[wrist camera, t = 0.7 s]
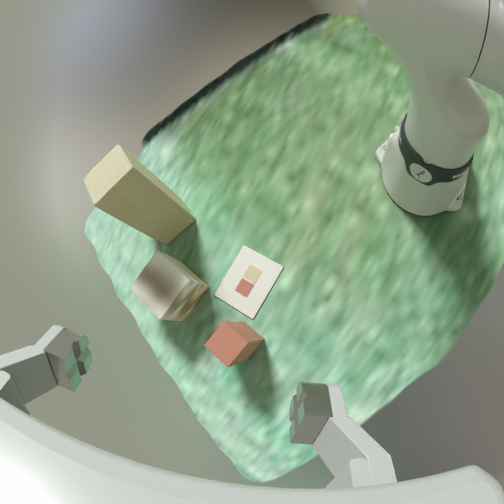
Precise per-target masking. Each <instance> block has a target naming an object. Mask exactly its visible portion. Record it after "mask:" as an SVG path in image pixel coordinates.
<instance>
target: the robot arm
mask: <svg viewBox="0 0 504 504" xmlns="http://www.w3.org/2000/svg"><path fill="white" fill-rule="evenodd" d="M356 4H357V9H358V12H359V14H360V17H361V19H362V21H363V22H364V24H365V25H366V27H367V28H368V30H369V31H370V32H371V33H372V34H373V35H375V36H376V37H377V38H378V39H380V40H381V41H382V42H383V43H384V44H385V45H386V46H387V47H388V48H389V49H390V50H391V51H392V52H393V54H394V55H395V56H396V58H397V59H398V60H399V62H400V64H401V65H402V67H403V69H404V71H405V73H406V75H407V77H408V80H409V84H410V90H411V92H410V102H409V109H408V113H407V114H406V115H405V116H404V117H403V119H402V120H401V123H400V124H401V126H400V127H399V126H396V127H395V129H394V132H395V133H394V134H391V135H390V136H389V139H388V140H387V141H386V142H385V143H384V144H383V145H381V146H380V147H379V148H378V149H377V151H376V153H375V156H376V159H377V161H378V162H379V164H380V166H381V169H382V178H383V183H384V186H385V188H386V190H387V192H388V194H389V195H390V197H391V198H392V199H393V200H394V201H395V203H397V204H398V205H399V206H400V207H401V208H403V209H404V210H406V211H408V212H410V213H413V214H416V215H422V216H430V215H435V214H437V213H440V212H442V211H458V210H459V209H460V208H461V206H462V202H463V197H464V192H465V187H466V182H467V177H468V171H469V166H470V164H471V162H472V160H473V156H474V152H475V151H476V149H477V148H478V146H479V145H480V143H481V142H482V140H483V139H484V137H485V135H486V134H487V132H488V128H489V112H488V108H487V106H486V103H485V101H484V99H483V97H482V95H481V93H480V91H479V90H478V89H477V87H476V86H475V85H474V84H473V83H472V81H471V80H470V79H469V78H471V79H472V80H474V81H476V82H478V83H480V84H482V85H484V86H486V87H487V88H489V89H491V90H493V91H494V92H496V93H498V94H500V95H501V96H503V97H504V0H356ZM384 150H385V151H384ZM457 198H458V200H457ZM88 344H89V342H88V338H87V336H85V335H83V334H80V333H78V332H75V331H72V330H70V329H67V328H64V327H62V326H59V325H54V326H52V327H51V328H50V330H48V331H47V332H46V334H45V335H44V336H43V337H42V338H41V339H40V340H39V341H38V342H37V343H36V344H35V345H34V346H28V347H25V348H22V349H19V350H16V351H13V352H10V353H7V354H4V355H1V356H0V504H504V492H503V489H502V487H501V485H500V483H499V482H498V481H497V480H496V479H495V478H494V477H492V476H491V475H490V474H488V473H487V472H486V471H484V470H483V469H481V468H479V467H478V466H476V465H470V466H466V467H462V468H459V469H455V470H452V471H448V472H444V473H440V474H436V475H432V476H427V477H422V478H417V479H412V480H407V481H401V482H397V480H396V476H395V472H394V468H393V464H392V460H391V456H390V455H389V454H388V453H387V452H386V451H385V450H384V449H383V448H382V447H381V446H380V445H379V444H378V443H377V442H376V441H375V440H374V439H372V438H371V436H369V435H368V434H367V433H366V432H365V431H364V430H363V429H362V428H361V427H360V426H359V425H358V424H357V423H356V422H355V421H354V420H353V419H352V418H348V417H347V412H346V408H345V403H344V398H343V394H342V390H341V386H340V385H336V384H321V383H309V382H300V383H299V384H298V386H297V388H296V389H297V394H296V395H295V396H293V399H292V401H291V405H290V413H289V419H290V420H291V422H292V425H291V427H290V443H299V444H313V445H312V446H313V447H314V449H315V450H316V452H317V453H318V454H319V456H320V457H321V459H322V460H323V461H324V463H325V464H326V466H327V467H328V468H329V470H330V471H331V472H332V474H333V475H334V476H335V478H334V479H333V480H332V482H330V484H328V485H327V487H326V488H324V489H296V488H295V489H294V488H274V487H261V486H251V485H242V484H234V483H227V482H220V481H215V480H209V479H204V478H198V477H194V476H189V475H184V474H180V473H176V472H172V471H168V470H164V469H160V468H156V467H153V466H149V465H146V464H143V463H139V462H136V461H133V460H130V459H126V458H124V457H121V456H118V455H115V454H113V453H110V452H107V451H105V450H102V449H99V448H97V447H94V446H92V445H90V444H87V443H85V442H83V441H80V440H78V439H76V438H73V437H71V436H69V435H67V434H65V433H63V432H61V431H59V430H57V429H54V428H53V427H51V426H49V425H47V424H45V423H43V422H41V421H39V420H37V419H35V418H34V417H32V416H30V413H29V411H28V409H27V407H26V406H25V404H26V403H28V402H30V401H32V400H34V399H35V398H37V397H39V396H41V395H43V394H44V393H46V392H48V391H50V390H51V389H53V388H55V387H57V385H59V386H62V387H64V388H66V389H69V390H71V391H75V390H76V388H77V387H78V386H79V384H80V382H81V375H84V374H86V373H87V372H88V370H89V369H90V365H91V362H92V356H91V352H90V350H89V349H88V348H87V345H88Z"/></svg>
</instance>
